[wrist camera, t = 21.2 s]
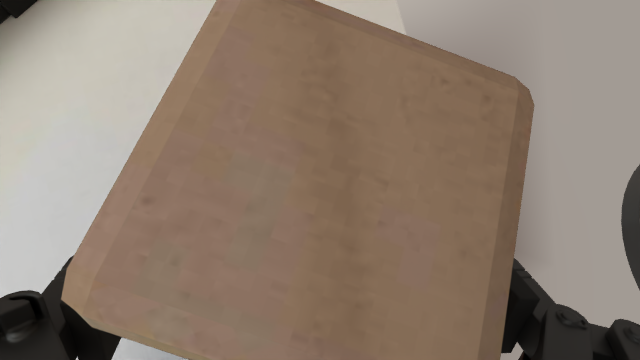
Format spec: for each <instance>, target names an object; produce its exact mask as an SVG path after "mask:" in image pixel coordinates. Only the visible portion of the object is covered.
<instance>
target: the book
mask: <svg viewBox="0 0 640 360" xmlns="http://www.w3.org/2000/svg"><path fill="white" fill-rule="evenodd" d="M36 1H37V0H0V24H1V23H2V22H3V21H4V20H5V19H7V18H8V17H9V16H10V15H12V16H14V17H15V18H17V17H18V16H20V15H21V14H22V13H23V12H24V11H25V10H27V9H28V8H29V7H30V6H31V5H33V4H34V3H35V2H36Z"/></svg>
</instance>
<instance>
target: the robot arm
mask: <svg viewBox="0 0 640 360" xmlns="http://www.w3.org/2000/svg"><path fill="white" fill-rule="evenodd" d="M73 257H74V256H72V257H71V258H70V259H69V260H68V261H67V262H66V264H65V265H64V266H63V267H62V269H61V271H59V273H58V274H57V275H56V276H55V278H54V280H52V281H51V283H50V284H49V285H48V286H47V288H46V289H45V290H44V292H43V293H42V294H40V293H39V292H36V291H31V290H28V291H18V292H15V293H12V294H8V295H6V296H4V297H2V298H0V360H75V359H76V358H77V356H78V359H79V360H111V359H112V357H113V355H114V352H115V350H116V348H117V346H118V344H119V342H120V339H121V337H120V336H117V335H114V334H111V333H108V332H105V331H102V330H99V329H96V328H93V327H91V326H90V325H89V324H88V323H87V322H86V321H85V320H84V319H83V318H82V317H81V316H80V315H79V314H78V313H77V312H76V311H75V310H74V309H73V308H72V307H70V306H69V305H68V304H66V303H65V302H64V301H63V300H61V297H62V292H63V286H64V281H65V276H66V271H67V268H68V266H69V264H70V262H71V261H72V259H73ZM531 277H532V276H531V275H530V274H529V273H528V272H527V271H525V269H524V267H522V265H521V264H520V263H519V262H518V261H517V260H516V259H515V258H514V259H513V267H512V274H511V282H510V289H509V296H508V304H507V311H506V319H505V326H504V333H503V341H502V348H501V353H511V352H512V350H513V348H514V346H515V344H516V343H517V342H518V343H519V345H520V346H521V348H522V349H523V352H522V354H521V356H520V358H519V359H518V360H640V325H639V324H636V323H634V322H631V321H628V320H624V319H618V320H615V321H614V323H613V324H612V325H611V327H610V328H607V327H602V326H598V325H594V324H590V323H588V321H587V320H586V319H585V318H584V317H583V316H582V315H581V314H579V313H578V312H577V311H575V310H573V309H571V308H569V307H567V306H564V305H560V304H556V303H555V302H554V301H553V300H552V299H551V298H550V297H549V296H548V294H547V293H546V292H545V291H544V290H543V289H542V288H541V286H540V285H538V283H537V282H536V281H535V280H534V279H532V278H531Z"/></svg>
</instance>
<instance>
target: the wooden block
mask: <svg viewBox="0 0 640 360" xmlns="http://www.w3.org/2000/svg"><path fill="white" fill-rule="evenodd" d="M533 111H534V103H533V100H532V97H531V94H530V91H529V89H528V88H527V87H525V86H524V85H523V84H522V83H521V82H520V81H519V80H518V79H517V78H515V77H513V76H511V75H508V74H505V73H503V72H500V71H498V70H495V69H493V68H490V67H487V66H485V65H482V64H479V63H477V62H474V61H472V60H469V59H466V58H464V57H461V56H458V55H456V54H453V53H451V52H448V51H445V50H443V49H440V48H437V47H435V46H432V45H430V44H427V43H424V42H422V41H419V40H417V39H414V38H411V37H409V36H406V35H404V34H401V33H398V32H396V31H393V30H391V29H388V28H385V27H383V26H380V25H378V24H375V23H372V22H370V21H367V20H365V19H362V18H359V17H357V16H354V15H351V14H349V13H346V12H344V11H341V10H338V9H336V8H333V7H331V6H328V5H325V4H323V3H320V2H317V1H315V0H217V1H216V2H215V4H214V6H213V8H212V10H211V11H210V13H209V15H208V17H207V19H206V20H205V22H204V24H203V26H202V27H201V29H200V31H199V33H198V35H197V36H196V38H195V40H194V42H193V44H192V45H191V47H190V49H189V51H188V53H187V54H186V56H185V58H184V60H183V62H182V63H181V65H180V67H179V69H178V71H177V72H176V74H175V76H174V78H173V79H172V81H171V83H170V85H169V87H168V88H167V90H166V92H165V94H164V96H163V97H162V99H161V101H160V103H159V105H158V106H157V108H156V110H155V112H154V114H153V115H152V117H151V119H150V121H149V123H148V124H147V126H146V128H145V130H144V131H143V133H142V135H141V137H140V139H139V140H138V142H137V144H136V146H135V148H134V149H133V151H132V153H131V155H130V157H129V158H128V160H127V162H126V164H125V166H124V167H123V169H122V171H121V173H120V175H119V176H118V178H117V180H116V182H115V183H114V185H113V187H112V189H111V191H110V192H109V194H108V196H107V198H106V200H105V201H104V203H103V205H102V207H101V209H100V210H99V212H98V214H97V216H96V218H95V219H94V221H93V223H92V225H91V227H90V228H89V230H88V232H87V234H86V235H85V237H84V239H83V241H82V243H81V244H80V246H79V248H78V250H77V252H76V253H75V255H74V257H73V259H72V261H71V262H70V264H69V266H68V268H67V271H66V276H65V281H64V286H63V292H62V297H61V300H63V301H64V302H65V303H66V304H68V305H69V306H70V307H72V308H73V309H74V310H75V311H76V312H77V313H78V314H79V315H80V316H81V317H82V318H83V319H84V320H85V321H86V322H87V323H88V324H89V325H90V326H91V327H93V328H96V329H99V330H102V331H105V332H108V333H111V334H114V335H117V336H120V337H123V338H126V339H129V340H132V341H135V342H138V343H141V344H144V345H147V346H150V347H153V348H156V349H159V350H162V351H165V352H168V353H171V354H174V355H177V356H180V357H183V358H186V359H189V360H500V356H501V348H502V341H503V333H504V326H505V319H506V311H507V304H508V296H509V289H510V282H511V274H512V267H513V259H514V252H515V244H516V237H517V230H518V222H519V215H520V207H521V200H522V193H523V185H524V178H525V169H526V163H527V156H528V148H529V141H530V133H531V126H532V118H533Z"/></svg>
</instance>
